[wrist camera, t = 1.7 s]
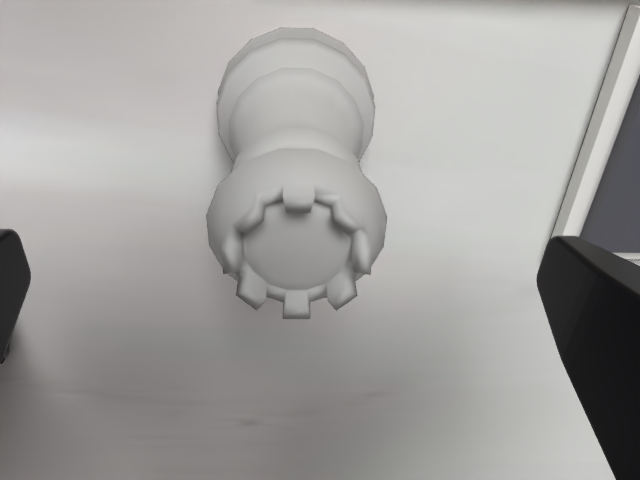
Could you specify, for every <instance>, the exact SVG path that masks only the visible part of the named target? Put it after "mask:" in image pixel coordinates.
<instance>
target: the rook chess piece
mask: <svg viewBox="0 0 640 480" xmlns="http://www.w3.org/2000/svg"><path fill="white" fill-rule="evenodd" d="M373 99H374V95H373V92H372V89H371V85H370V82H369V79H368V76H367V73H366V70H365V67H364V66H363V64H362V63H361V62H360V61H359V60H358V59H357V57H356V56H355V55H354V54H353V53H352V52H351V51H350V49H349V48H348V47H347V46H346V45H345V44H344V43H343V42H341V41H339V40H337V39H335V38H333V37H331V36H329V35H327V34H324V33H322V32H320V31H318V30H316V29H314V28H282V27H281V28H278V29H276V30H273V31H271V32H268V33H266V34H263V35H261V36H259V37H256V38H254V39H251V40H250V41H249V42H248V43H247V44H246V45H245V46H244V47H243V48H242V49H241V50H240V51H239V52H238V53H237V54H236V55H235V56H234V57H233V58H232V60H231V61H230V62H229V63H228V65H227V68H226V71H225V74H224V76H223V79H222V82H221V85H220V88H219V90H218V100H217V116H218V130H219V135H220V137H221V139H222V141H223V143H224V145H225V147H226V149H227V151H228V153H229V155H230V157H231V159H232V161H233V163H234V166H233V168H232V171H231V173H230V174H229V175H228V176H227V177H226V178H225V179H224V180H223V181H222V182H221V183H220V184H219V185H218V186H217V189H216V191H215V194H214V197H213V199H212V202H211V204H210V207H209V209H208V212H207V214H206V218H207V228H208V239H209V246H210V248H211V249H212V251H213V253H214V254H215V256H216V258H217V259H218V261H219V263H220V264H221V266H222V268H223V274H226V273H228V274H229V275H230V276H232V277H233V278H234V279H236V280H237V281H238V285H237V292H236V295H237V296H238V297H239V298H241V299H242V300H243V301H245V302H246V303H247V304H249V305H250V306H251V307H253V308H254V309H255V310H258V309H259V308H260V306H261V305H262V304H263V303H264V302H265V300H266V297H269V298H272V299H275V300H278V301H281V302H283V319H310V302H312V301H315V300H318V299H321V298H325V297H328V301H329V302H330V304H331V305H332V306H333V307H334V309H335V310H336V311H337V310H338V309H339V308H341V307H342V306H343V305H345V304H346V303H348V302H349V301H350V300H352V299H353V298H355V297H356V296H357V291H356V285H355V281H356V280H358V279H359V278H360V277H362V276H363V275H364V274H369V275H370V273H371V266H372V264H373V263H374V261H375V259H376V258H377V256H378V255H379V253H380V251H381V250H382V248H383V247H384V239H385V231H386V223H387V215H386V212H385V209H384V207H383V204H382V201H381V198H380V195H379V192H378V189H377V187H376V186H375V185H374V184H373V183H372V182H371V181H370V180H369V179H368V178H367V177H366V176H365V175H364V174H363V173H362V171H361V168H360V165H359V161H360V159H361V157H362V156H363V154H364V152H365V150H366V148H367V146H368V144H369V143H370V141H371V138H372V136H373V125H374V115H375V104H374V101H373Z"/></svg>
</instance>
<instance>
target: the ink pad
mask: <svg viewBox="0 0 640 480" xmlns="http://www.w3.org/2000/svg"><path fill="white" fill-rule="evenodd" d="M558 235H562V236H578V237H580V238H582V239H584V240H587V241H589V242H591V243H593V244H595V245H597V246H599V247H601V248H603V249H605V250H607V251H609V252H611V253H613V254H615V255H617V256H619V257H622V258H624V259H640V5H629V8H628V11H627V14H626V17H625V20H624V23H623V26H622V29H621V32H620V35H619V38H618V41H617V44H616V47H615V50H614V53H613V56H612V59H611V62H610V65H609V68H608V71H607V74H606V76H605V79H604V82H603V85H602V88H601V91H600V94H599V97H598V100H597V103H596V106H595V109H594V112H593V115H592V118H591V121H590V124H589V127H588V130H587V133H586V136H585V139H584V142H583V145H582V147H581V150H580V153H579V156H578V159H577V162H576V165H575V168H574V171H573V174H572V177H571V180H570V183H569V186H568V189H567V192H566V195H565V198H564V201H563V204H562V207H561V210H560V213H559V216H558V218H557V221H556V224H555V227H554V230H553V233H552V236H551V238H552V237H554V236H558Z"/></svg>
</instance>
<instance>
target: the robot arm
mask: <svg viewBox="0 0 640 480" xmlns="http://www.w3.org/2000/svg"><path fill="white" fill-rule="evenodd" d="M30 280H31V273H30V268H29V265H28V261H27V258H26V255H25V252H24V249H23V246H22V243H21V240H20V237H19V235H18V234H17V232H15V231H14V230H12V229H0V364H2V363H3V362H4V360H5V359H6V357H7V356H8V354H9V347H8V344H9V341H10V338H11V335H12V333H13V330H14V327H15V324H16V321H17V319H18V316H19V313H20V310H21V307H22V305H23V302H24V299H25V296H26V293H27V291H28V288H29V285H30ZM537 287H538V290H539V293H540V297H541V300H542V303H543V306H544V309H545V312H546V315H547V318H548V321H549V324H550V327H551V330H552V334H553V337H554V340H555V343H556V346H557V349H558V352H559V354H560V357H561V360H562V362H563V364H564V367H565V369H566V371H567V374H568V376H569V378H570V380H571V382H572V385H573V387H574V389H575V391H576V393H577V396H578V398H579V400H580V402H581V404H582V407H583V409H584V411H585V413H586V415H587V417H588V420H589V422H590V424H591V426H592V428H593V431H594V433H595V435H596V437H597V439H598V442H599V444H600V446H601V448H602V450H603V452H604V455H605V457H606V459H607V461H608V463H609V466H610V468H611V470H612V472H613V474H614V476H615V479H616V480H640V266H638V265H636V264H634V263H632V262H630V261H628V260H626V259H624V258H622V257H619V256H617V255H615V254H613V253H611V252H609V251H607V250H605V249H603V248H601V247H599V246H597V245H595V244H593V243H591V242H589V241H587V240H584V239H582V238H580V237H578V236H562V235H558V236H554V237H552V238H551V239H550V240H549V241H548V244H547V246H546V249H545V252H544V255H543V258H542V261H541V264H540V267H539V270H538V274H537Z"/></svg>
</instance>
